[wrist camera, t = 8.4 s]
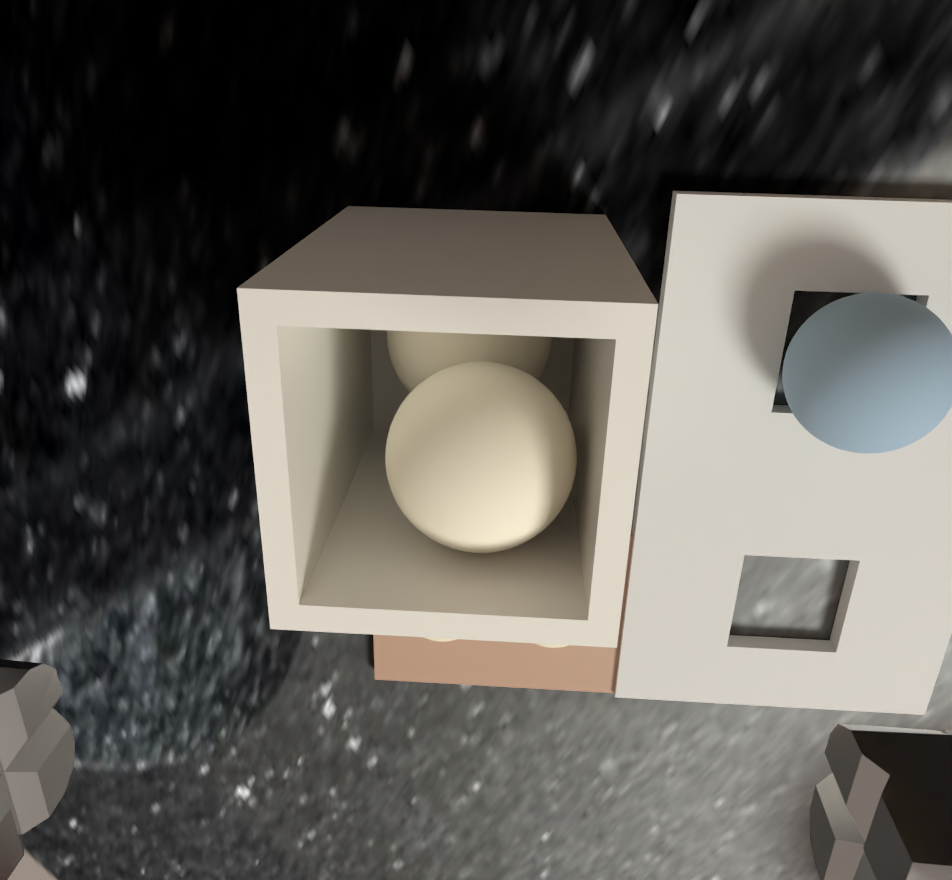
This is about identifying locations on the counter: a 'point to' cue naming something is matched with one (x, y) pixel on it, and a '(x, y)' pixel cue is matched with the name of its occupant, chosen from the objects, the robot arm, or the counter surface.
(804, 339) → the blue ball
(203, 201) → the counter surface
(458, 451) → the cream ball
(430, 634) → the tube
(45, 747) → the robot arm
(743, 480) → the board
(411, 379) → the tube ball
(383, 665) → the card
